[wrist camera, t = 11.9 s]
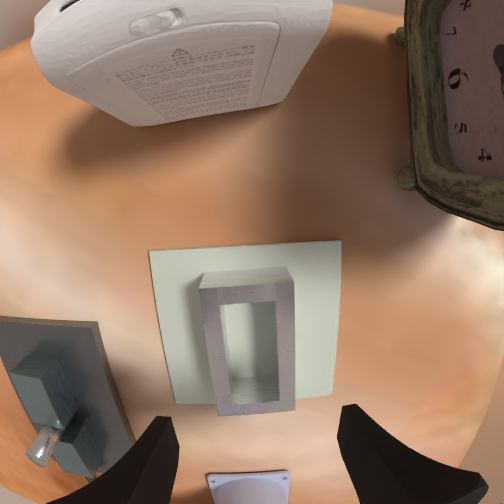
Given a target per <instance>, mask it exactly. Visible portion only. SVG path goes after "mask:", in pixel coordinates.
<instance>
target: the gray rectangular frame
mask: <svg viewBox="0 0 504 504" xmlns="http://www.w3.org/2000/svg"><path fill="white" fill-rule="evenodd" d="M199 297H200V304H201V312H202V319H203V326H204V333H205V339H206V346H207V352H208V359H209V365H210V371H211V377H212V383H213V388H214V394H215V400H216V405H217V411H218V416H231V415H249V414H262V413H273V412H283V411H292V410H295V295H294V280H293V278H292V277H291V275H290V273H289V271H288V269H287V267H286V266H283V267H271V268H258V269H245V270H231V271H217V272H205V273H204V275H203V278H202V281H201V283H200V286H199ZM268 301H271V302H272V322H273V343H274V366H275V375H267V376H256V377H242V378H233V376H232V368H231V360H230V351H229V343H228V334H227V326H226V317H225V308H224V305H228V304H242V303H255V302H268Z"/></svg>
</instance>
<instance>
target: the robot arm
mask: <svg viewBox="0 0 504 504" xmlns="http://www.w3.org/2000/svg"><path fill="white" fill-rule="evenodd" d="M337 439H338V444H339V448H340V452H341V455H342V458H343V461H344V463H345V466H346V468H347V471H348V473H349V475H350V478H351V480H352V483H353V485H354V488H355V490H356V493H357V495H358V498H359V502H360V504H478V503H479V501H480V500H481V499H482V498H483V497H484V495H485V494H486V493H487V491H488V488H489V487H488V485H487V483H486V482H485V480H484V479H483V477H482V476H481V475H480V474H479V473H477V472H472V471H467V470H462V469H458V468H454V467H451V466H448V465H445V464H442V463H439V462H437V461H435V460H432V459H430V458H428V457H426V456H424V455H422V454H420V453H418V452H416V451H414V450H413V449H411V448H409V447H407V446H406V445H404V444H403V443H402V442H400V441H399V440H397V439H396V438H395V437H393V436H392V435H391V434H389V433H388V432H387V431H386V430H385V429H383V428H382V427H381V426H380V425H379V424H377V423H376V422H375V421H374V420H373V419H372V418H371V417H370V416H369V415H368V414H366V413H365V412H364V411H363V410H362V409H361V408H360V407H359V406H358V405H357V404H351V405H346V406H342V411H341V417H340V423H339V428H338V434H337ZM179 448H180V447H179V443H178V440H177V437H176V434H175V430H174V427H173V423H172V420H171V417H165V416H156V417H155V418H154V420H153V421H152V422H151V424H150V425H149V426H148V428H147V429H146V430H145V432H144V433H143V434H142V435H141V436H140V438H139V439H138V440H137V441H136V442H135V444H134V445H133V446H132V447H131V448H130V449H129V450H128V451H127V452H126V453H125V454H124V455H123V456H122V457H121V458H120V459H119V460H118V461H117V462H116V463H115V464H114V465H113V466H112V467H111V468H110V469H108V470H107V471H106V472H105V473H103V474H102V475H101V476H99V477H98V478H97V479H95V480H94V481H92V482H91V483H89V484H88V485H86V486H84V487H82V488H81V489H79V490H77V491H75V492H73V493H71V494H69V495H67V496H64V497H62V498H59V499H56V500H54V501H51V502H48V503H46V504H169V503H170V498H171V494H172V490H173V485H174V481H175V477H176V472H177V468H178V460H179ZM207 480H208V483H209V487H210V490H211V494H212V497H213V500H214V503H215V504H288V495H289V482H290V472H289V471H275V472H262V473H243V474H209V475H207ZM500 504H503V503H500Z"/></svg>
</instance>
